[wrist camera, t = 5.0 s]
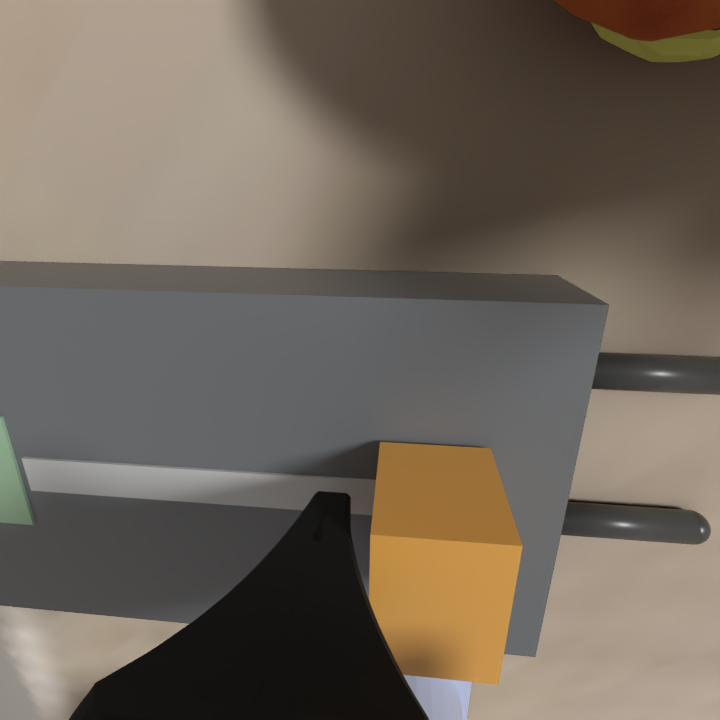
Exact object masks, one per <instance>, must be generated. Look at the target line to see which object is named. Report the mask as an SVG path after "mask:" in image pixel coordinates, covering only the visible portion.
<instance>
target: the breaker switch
mask: <svg viewBox="0 0 720 720" xmlns="http://www.w3.org/2000/svg"><path fill="white" fill-rule="evenodd" d="M522 547H523V546H522V543H521V540H520V537H519V533H518V530H517V527H516V524H515V521H514V518H513V515H512V512H511V509H510V506H509V503H508V500H507V497H506V494H505V491H504V488H503V484H502V481H501V478H500V475H499V472H498V469H497V466H496V463H495V460H494V457H493V454H492V451H491V448H477V447H460V446H443V445H426V444H409V443H391V442H380V447H379V456H378V466H377V476H376V485H375V495H374V504H373V514H372V524H371V533H370V574H369V601H370V604H371V607H372V609H373V612H374V614H375V617H376V619H377V622H378V624H379V627H380V629H381V631H382V633H383V635H384V637H385V639H386V642H387V644H388V646H389V648H390V650H391V652H392V654H393V656H394V658H395V661H396V662H397V664H398V666H399V668H400V670H401V672H402V674H403V675H410V676H420V677H429V678H439V679H449V680H459V681H468V682H478V683H488V684H498V685H499V679H500V674H501V668H502V662H503V656H504V651H505V645H506V639H507V633H508V628H509V622H510V616H511V610H512V605H513V599H514V593H515V587H516V582H517V576H518V570H519V564H520V559H521V553H522Z"/></svg>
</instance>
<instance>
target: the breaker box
mask: <svg viewBox="0 0 720 720" xmlns="http://www.w3.org/2000/svg"><path fill="white" fill-rule="evenodd" d="M608 308H609V305H608V304H607V303H605V302H603V301H601V300H600V299H598V298H596V297H594V296H593V295H591V294H589V293H587V292H586V291H584V290H582V289H580V288H578V287H577V286H575V285H573V284H571V283H570V282H568V281H566V280H564V279H563V278H561V277H559V276H557V275H527V274H487V273H448V272H409V271H370V270H330V269H291V268H252V267H212V266H173V265H134V264H95V263H55V262H16V261H0V605H2V606H13V607H23V608H34V609H44V610H54V611H65V612H75V613H85V614H96V615H106V616H116V617H127V618H137V619H147V620H158V621H168V622H178V623H189V624H190V623H191V622H193V621H194V620H195V619H197V618H198V617H199V616H201V615H202V614H203V613H204V612H206V611H207V610H208V609H209V608H211V607H212V606H213V605H214V604H215V603H217V602H218V601H219V600H220V599H221V598H223V597H224V596H225V595H226V594H227V593H228V592H230V591H231V590H232V589H233V588H234V587H235V586H236V585H237V584H238V583H239V582H241V581H242V580H243V579H244V578H245V577H246V576H247V575H248V574H249V573H250V572H251V571H252V570H253V569H254V568H255V567H256V566H257V565H258V564H259V563H260V561H261V560H262V559H263V558H264V557H265V556H266V555H267V554H268V553H269V552H270V551H271V550H272V548H273V547H274V546H275V545H276V544H277V543H278V542H279V541H280V539H281V538H282V537H283V536H284V534H285V533H286V532H287V531H288V530H289V528H290V527H291V526H292V525H293V523H294V522H295V521H296V519H297V518H298V517H299V516H300V514H301V513H302V511H303V510H304V509H305V507H306V506H307V504H308V503H309V502H310V500H311V499H312V497H313V496H314V494H315V493H317V492H318V491H324V492H339V493H347V494H348V495H349V496H350V497H351V536H352V541H353V546H354V551H355V555H356V559H357V563H358V567H359V571H360V574H361V578H362V581H363V584H364V587H365V590H366V593H367V596H368V599H369V574H370V533H371V524H372V514H373V504H374V495H375V485H376V476H377V466H378V456H379V447H380V442H391V443H409V444H426V445H443V446H460V447H477V448H491V451H492V454H493V457H494V460H495V463H496V466H497V469H498V472H499V475H500V478H501V481H502V484H503V488H504V491H505V494H506V497H507V500H508V503H509V506H510V509H511V512H512V515H513V518H514V521H515V524H516V527H517V530H518V533H519V537H520V540H521V543H522V546H523V547H522V553H521V559H520V564H519V570H518V576H517V582H516V587H515V593H514V599H513V605H512V610H511V616H510V622H509V628H508V633H507V639H506V645H505V651H504V654H510V655H520V656H530V657H535V656H536V651H537V646H538V641H539V636H540V632H541V627H542V622H543V617H544V613H545V608H546V603H547V598H548V594H549V589H550V584H551V579H552V574H553V570H554V565H555V560H556V555H557V551H558V546H559V541H560V536H561V535H571V536H584V537H598V538H612V539H625V540H639V541H652V542H666V543H680V544H701V543H703V542H705V541H706V540H707V539H708V538H709V536H710V533H711V529H710V525H709V523H708V521H707V520H706V519H705V518H704V517H703V516H702V515H701V514H699V513H697V512H695V511H692V510H682V509H667V508H653V507H638V506H623V505H608V504H593V503H578V502H568V498H569V493H570V489H571V484H572V479H573V474H574V470H575V465H576V460H577V455H578V451H579V446H580V441H581V436H582V431H583V427H584V422H585V417H586V412H587V408H588V403H589V398H590V393H591V389H607V390H628V391H650V392H672V393H693V394H715V395H720V357H694V356H669V355H644V354H618V353H599V350H600V346H601V341H602V336H603V331H604V327H605V322H606V317H607V312H608Z"/></svg>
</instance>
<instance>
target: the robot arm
mask: <svg viewBox="0 0 720 720" xmlns="http://www.w3.org/2000/svg"><path fill="white" fill-rule="evenodd" d="M471 683H472V682H468V681H459V680H449V679H439V678H429V677H420V676H410V675H403V674H402V672H401V670H400V668H399V666H398V664H397V662H396V661H395V658H394V656H393V654H392V652H391V650H390V648H389V646H388V644H387V642H386V639H385V637H384V635H383V633H382V631H381V629H380V627H379V624H378V622H377V619H376V617H375V614H374V612H373V609H372V607H371V604H370V601H369V599H368V596H367V593H366V590H365V587H364V584H363V581H362V578H361V574H360V571H359V567H358V563H357V559H356V555H355V551H354V546H353V541H352V536H351V497H350V496H349V495H348V494H347V493H339V492H324V491H318V492H317V493H315V494H314V496H313V497H312V499H311V500H310V502H309V503H308V504H307V506H306V507H305V509H304V510H303V511H302V513H301V514H300V516H299V517H298V518H297V519H296V521H295V522H294V523H293V525H292V526H291V527H290V528H289V530H288V531H287V532H286V533H285V534H284V536H283V537H282V538H281V539H280V541H279V542H278V543H277V544H276V545H275V546H274V547H273V548H272V550H271V551H270V552H269V553H268V554H267V555H266V556H265V557H264V558H263V559H262V560H261V561H260V563H259V564H258V565H257V566H256V567H255V568H254V569H253V570H252V571H251V572H250V573H249V574H248V575H247V576H246V577H245V578H244V579H243V580H242V581H241V582H239V583H238V584H237V585H236V586H235V587H234V588H233V589H232V590H231V591H230V592H228V593H227V594H226V595H225V596H224V597H223V598H221V599H220V600H219V601H218V602H217V603H215V604H214V605H213V606H212V607H211V608H209V609H208V610H207V611H206V612H204V613H203V614H202V615H201V616H199V617H198V618H197V619H195V620H194V621H193V622H191V623H190V624H189V625H187V626H186V627H184V628H183V629H182V630H180V631H179V632H177V633H176V634H174V635H173V636H172V637H170V638H169V639H167V640H166V641H164V642H163V643H162V644H160V645H159V646H157V647H156V648H154V649H152V650H151V651H149V652H148V653H146V654H144V655H143V656H141V657H139V658H138V659H136V660H134V661H133V662H131V663H129V664H127V665H126V666H124V667H122V668H121V669H119V670H117V671H115V672H114V673H112V674H110V675H109V676H107V677H105V678H103V679H101V680H100V681H98V682H96V683H95V684H94V686H93V687H92V689H91V690H90V691H89V693H88V694H87V695H86V697H85V698H84V699H83V700H82V702H81V703H80V704H79V706H78V707H77V709H76V710H75V712H74V713H73V714H72V716H71V717H70V719H69V720H466V718H467V711H468V704H469V697H470V690H471Z"/></svg>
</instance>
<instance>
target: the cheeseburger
mask: <svg viewBox="0 0 720 720" xmlns="http://www.w3.org/2000/svg"><path fill="white" fill-rule="evenodd" d="M554 1H555V2H556V3H558V4H559V5H560V6H562V7H563V8H564V9H566V10H567V11H568V12H570V13H571V14H572V15H574V16H576V17H579V18H581V19H584V20H586V21H589V22H591V24H592V25H593V27H594V29H595V30H596V32H597V33H598V35H599V36H600V38H602V39H604V40H606V41H608V42H609V43H611V44H613V45H615V46H617V47H619V48H621V49H623V50H625V51H627V52H629V53H631V54H634V55H636V56H638V57H641V58H643V59H645V60H647V61H650V62H685V61H693V60H701V59H709V58H713V57H715V56H717V55H719V54H720V0H554Z"/></svg>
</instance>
